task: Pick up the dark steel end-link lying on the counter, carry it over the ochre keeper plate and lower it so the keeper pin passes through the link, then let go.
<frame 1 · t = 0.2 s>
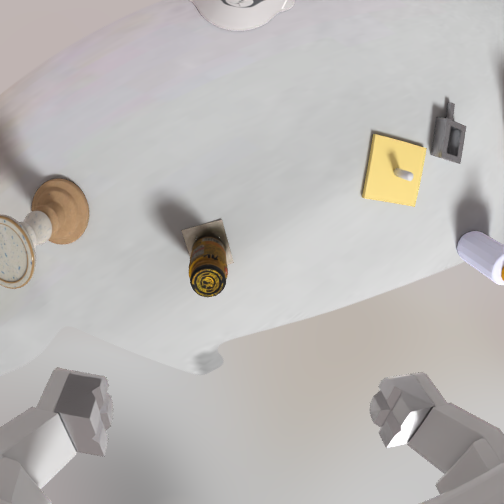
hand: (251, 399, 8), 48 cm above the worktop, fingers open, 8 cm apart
candle holder: (61, 210, 51), on the worktop
condiment: (208, 246, 58), on the worktop
soap bottle: (472, 246, 65), on the worktop
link: (443, 139, 54), on the worktop
keeper: (394, 171, 56), on the worktop
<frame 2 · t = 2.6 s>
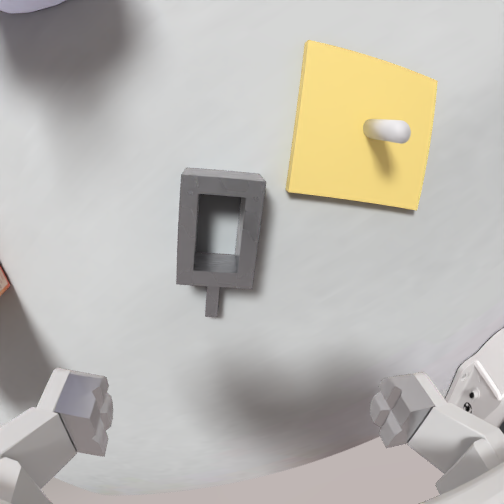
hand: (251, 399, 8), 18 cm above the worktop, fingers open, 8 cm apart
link: (218, 220, 25), on the worktop
keeper: (366, 128, 24), on the worktop
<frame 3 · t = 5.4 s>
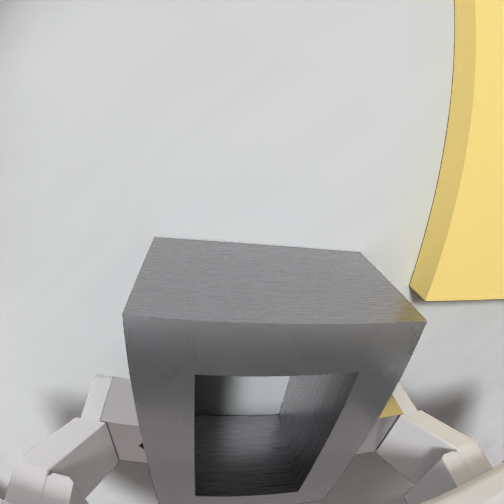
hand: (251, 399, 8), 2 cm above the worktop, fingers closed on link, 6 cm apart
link: (245, 362, 10), on the worktop, touching gripper
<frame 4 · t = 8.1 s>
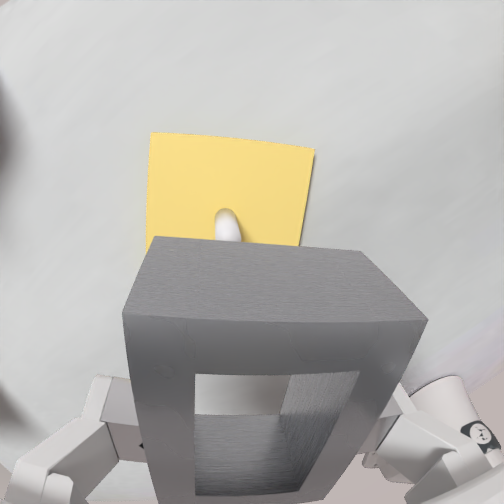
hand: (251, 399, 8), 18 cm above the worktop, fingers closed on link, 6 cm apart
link: (246, 361, 10), point 17 cm above the worktop, touching gripper
keeper: (224, 214, 25), on the worktop
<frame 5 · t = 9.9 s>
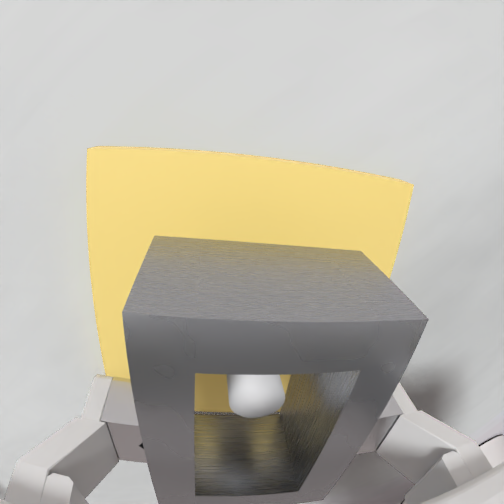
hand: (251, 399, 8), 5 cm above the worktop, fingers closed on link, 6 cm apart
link: (246, 361, 10), point 4 cm above the worktop, touching gripper
keeper: (240, 302, 14), on the worktop
when the fingers open (4 cm above the worktop, at t = 11.0 s): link drops 1 cm, resting on keeper.
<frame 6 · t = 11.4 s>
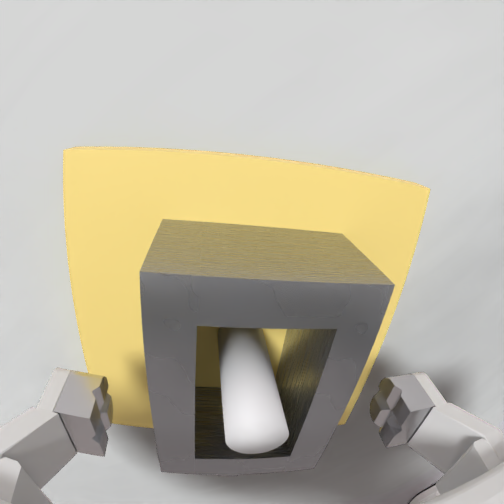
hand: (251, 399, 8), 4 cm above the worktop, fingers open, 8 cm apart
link: (241, 334, 11), point 1 cm above the worktop, touching keeper
keeper: (237, 318, 12), on the worktop
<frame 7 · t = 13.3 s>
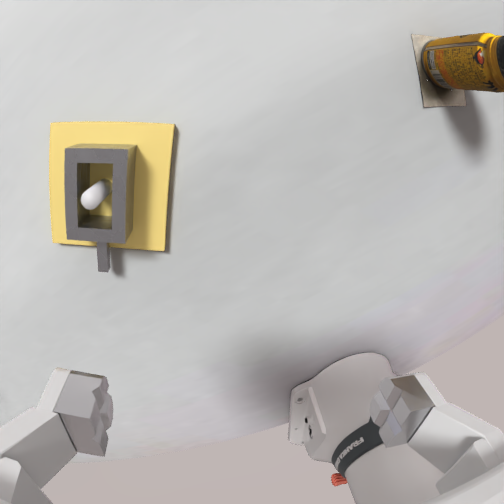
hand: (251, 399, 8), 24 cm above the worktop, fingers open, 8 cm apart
condiment: (439, 71, 28), on the worktop
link: (105, 186, 27), point 1 cm above the worktop, touching keeper
keeper: (107, 184, 28), on the worktop
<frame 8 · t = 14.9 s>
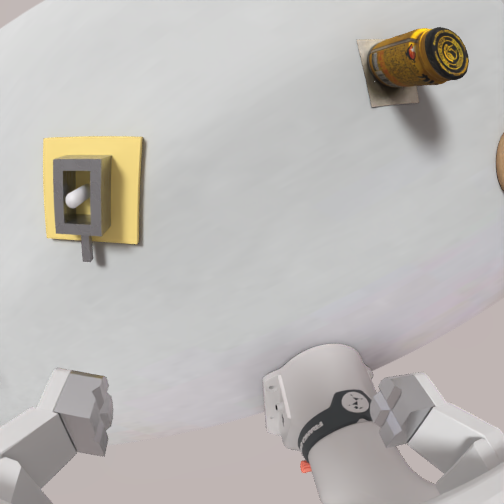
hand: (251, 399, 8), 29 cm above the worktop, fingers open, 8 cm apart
condiment: (388, 71, 32), on the worktop
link: (88, 190, 32), point 1 cm above the worktop, touching keeper
keeper: (90, 188, 33), on the worktop
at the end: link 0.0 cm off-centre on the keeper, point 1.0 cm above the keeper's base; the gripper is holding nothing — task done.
